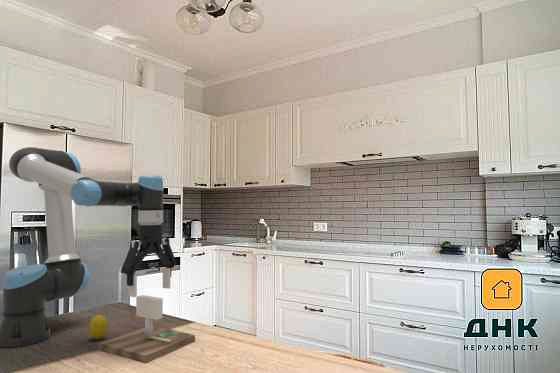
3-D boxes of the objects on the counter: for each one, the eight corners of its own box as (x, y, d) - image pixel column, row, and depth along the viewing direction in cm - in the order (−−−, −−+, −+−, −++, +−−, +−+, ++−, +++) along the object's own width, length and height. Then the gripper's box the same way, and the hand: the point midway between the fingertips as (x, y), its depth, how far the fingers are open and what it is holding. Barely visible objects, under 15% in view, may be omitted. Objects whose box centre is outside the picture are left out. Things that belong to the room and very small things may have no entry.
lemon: (99, 342, 123) (100, 317, 124) (84, 341, 124) (85, 316, 125) (110, 337, 129) (111, 312, 129) (96, 335, 130) (96, 311, 130)
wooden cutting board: (99, 350, 117) (99, 342, 117) (150, 331, 134) (150, 325, 134) (145, 363, 107) (146, 355, 107) (195, 341, 125) (195, 334, 125)
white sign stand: (135, 336, 122) (136, 296, 123) (141, 334, 124) (142, 295, 125) (166, 344, 115) (167, 301, 116) (172, 341, 117) (173, 299, 118)
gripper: (125, 226, 110) (125, 301, 109) (187, 222, 132) (187, 285, 130) (108, 225, 114) (107, 299, 112) (170, 222, 135) (170, 284, 134)
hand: (150, 292), depth 121 cm, fingers open, 13 cm apart
